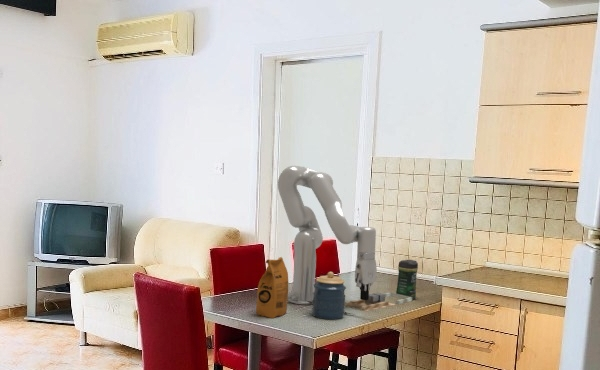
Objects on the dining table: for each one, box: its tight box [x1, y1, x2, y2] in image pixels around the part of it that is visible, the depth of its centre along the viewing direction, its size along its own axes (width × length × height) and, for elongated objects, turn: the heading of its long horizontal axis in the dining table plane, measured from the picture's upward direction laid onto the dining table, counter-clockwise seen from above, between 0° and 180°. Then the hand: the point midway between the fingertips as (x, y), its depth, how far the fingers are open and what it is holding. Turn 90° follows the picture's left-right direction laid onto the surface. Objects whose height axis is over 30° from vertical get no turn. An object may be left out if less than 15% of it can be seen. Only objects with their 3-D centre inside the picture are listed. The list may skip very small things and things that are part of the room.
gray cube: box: [365, 293, 379, 305], centre depth 241 cm, size 4×4×4 cm
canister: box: [311, 271, 347, 320], centre depth 223 cm, size 13×13×18 cm
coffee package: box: [255, 256, 289, 319], centre depth 219 cm, size 10×12×22 cm
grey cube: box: [372, 292, 386, 303], centre depth 245 cm, size 4×4×4 cm
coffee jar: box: [395, 259, 419, 300], centre depth 265 cm, size 10×8×19 cm
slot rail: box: [344, 292, 414, 312], centre depth 246 cm, size 36×12×3 cm, turn 137°
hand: (364, 299), depth 236 cm, fingers closed
